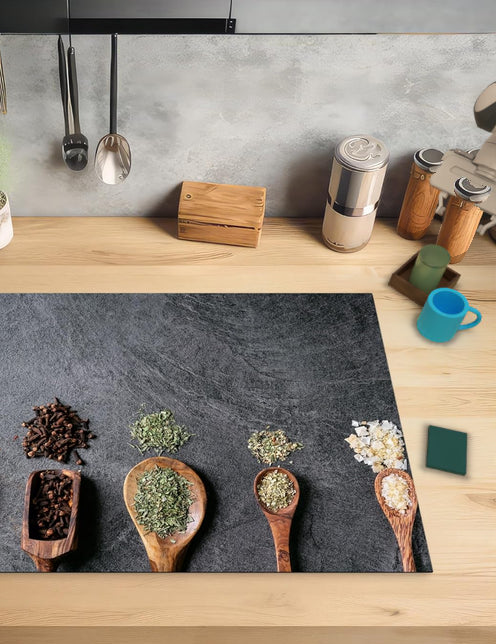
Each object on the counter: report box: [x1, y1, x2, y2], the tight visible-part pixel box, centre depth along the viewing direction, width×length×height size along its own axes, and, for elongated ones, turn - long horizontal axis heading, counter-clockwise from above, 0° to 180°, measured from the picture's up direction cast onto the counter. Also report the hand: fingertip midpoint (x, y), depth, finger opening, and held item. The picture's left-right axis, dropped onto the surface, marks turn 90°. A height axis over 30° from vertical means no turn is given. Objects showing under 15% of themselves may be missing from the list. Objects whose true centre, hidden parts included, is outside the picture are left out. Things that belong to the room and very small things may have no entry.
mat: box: [425, 424, 468, 477], centre depth 139 cm, size 9×7×1 cm
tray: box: [387, 249, 462, 308], centre depth 163 cm, size 11×11×4 cm
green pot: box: [408, 243, 452, 294], centre depth 160 cm, size 6×6×9 cm
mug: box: [416, 288, 483, 343], centre depth 154 cm, size 12×8×8 cm
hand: (458, 224), depth 158 cm, fingers open, 8 cm apart
